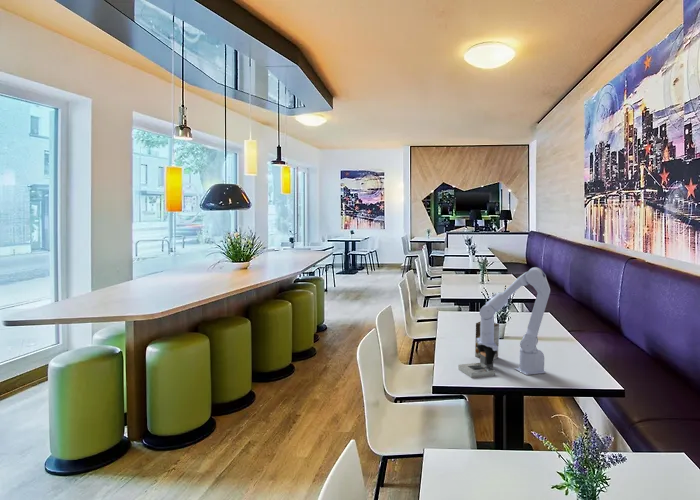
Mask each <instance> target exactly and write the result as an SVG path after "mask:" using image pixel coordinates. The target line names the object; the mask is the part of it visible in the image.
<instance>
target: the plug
mask: <svg viewBox="0 0 700 500" xmlns="http://www.w3.org/2000/svg"><path fill="white" fill-rule="evenodd" d="M479 363H483V364H485V365H487V366H488V367H490V368H494V361H493V362H492V364H487V361H486V353H485V351H483V352H480V357H479Z"/></svg>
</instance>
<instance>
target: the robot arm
mask: <svg viewBox="0 0 700 500" xmlns="http://www.w3.org/2000/svg"><path fill="white" fill-rule="evenodd" d="M528 285H530V286H532V287H533V289H534V290H535V291H536V293H537V294H536V298H535V301H534V304H533V308H532V311H531V314H530V318H529V321H528V325H527V328H526V332H525V334H524V335H523V336H522V339H521V340H520V342H519V347H520V348H519V367H515V368H514V370H516V371H518V372H520V373H522V374H523V375H526V376H529V375H537V374H538V375H539V374H545V373H546V371H545V355H544V352H543V351H542V350H541V349H538V348H537V346H538V343H539V338H538V335H539V331H540V328H541V324H542V321H543V317H544V315H545V311H546V308H547V304H548V300H549V298H550V295H551V288H550V284H549V282H548V279H547V275H546V273H545V272H544V271H543V269H541V268H539V267H537V266H534V267H531V268H530V269H529V270H528V271H525V272H523V274H521V275H520V276H518V277H517V278H515V280H514V281H513V282H512V283H511V284H510V285H509V286H508V287H507V288H506V289H505V290H504V291H503V292H495V293H494V294H493V295H492V298H490V299H489V300H488V301H486V302H485V304H484V305H483V306H482V307H481V308H480V309H479V315H480V321H481V325H480V338H476V337H475V343H476V342H477V343H478V344H479V345H477V348H478V350H479V353H480V352H483V351H485V353H486V361H487V364H492V362H493V363H494V360H493V358H494V356H495V354H496V352H497V351H498V352H499V346H497V345H496V344H495V343H494V323H495V321H494V320H495V318H494V317H495V314H496V313H498V312H499V311H500V310H501V309H503V307H504V306H505V305H506V304H508V302H509V298H510V296H512V295H513V294H514V293H515V292H516V291H518V290H519V289H520V288H521V287H525V286H528Z"/></svg>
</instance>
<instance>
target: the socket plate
mask: <svg viewBox="0 0 700 500" xmlns="http://www.w3.org/2000/svg"><path fill="white" fill-rule="evenodd" d="M458 370H459V371H460V372H461V373H463V374H465V375H467V376H468V377H469V378H471V379H473V378H481V377H482V378H483V377H491V376H496V369H493V367H488V366H487V365H485V364H483V363H480V362H474V363H473V362H472V363H465V364H458Z"/></svg>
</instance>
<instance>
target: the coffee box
mask: <svg viewBox="0 0 700 500" xmlns="http://www.w3.org/2000/svg"><path fill="white" fill-rule="evenodd" d="M480 325H481V320H480V321H478V322H476V323H475V339H476V338H480ZM499 339H500V324H499V323H495V322H494V343H495V344H496V345H497V346H498V347H499V345H500V344H499ZM477 345H479V344H478V343H477V342H476V341H475V346H474V347H475V349H474V350H475V351H474V356H475V357H477V358H480V353H479V350H478V348H477ZM497 358H499V350H498V351H497V352H496V354H495V356H494V358H493V361H495V360H496V359H497Z"/></svg>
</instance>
